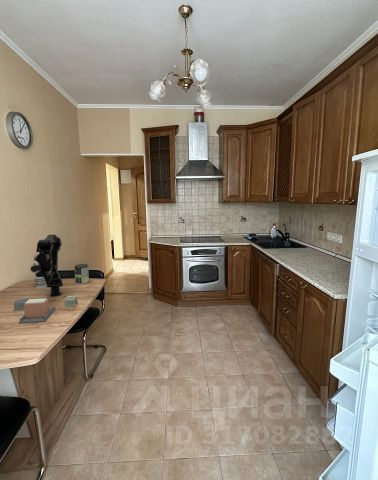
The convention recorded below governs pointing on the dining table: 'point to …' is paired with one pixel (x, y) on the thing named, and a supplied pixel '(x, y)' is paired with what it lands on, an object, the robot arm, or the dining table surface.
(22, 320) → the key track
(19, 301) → the slate block
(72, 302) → the sage block
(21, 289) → the dining table surface
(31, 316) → the terracotta key block
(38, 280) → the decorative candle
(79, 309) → the dining table surface
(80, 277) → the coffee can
